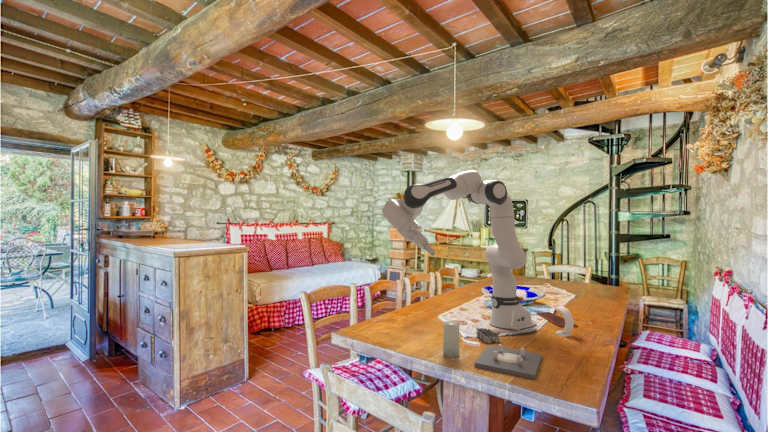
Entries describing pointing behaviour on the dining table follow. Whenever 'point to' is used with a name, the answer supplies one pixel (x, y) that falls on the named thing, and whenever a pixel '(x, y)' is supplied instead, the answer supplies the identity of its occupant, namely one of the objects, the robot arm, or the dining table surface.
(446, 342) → the canister
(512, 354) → the peg stand
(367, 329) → the dining table surface
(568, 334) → the headphone stand
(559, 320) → the wooden tablet
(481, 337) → the egg carton
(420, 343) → the dining table surface
